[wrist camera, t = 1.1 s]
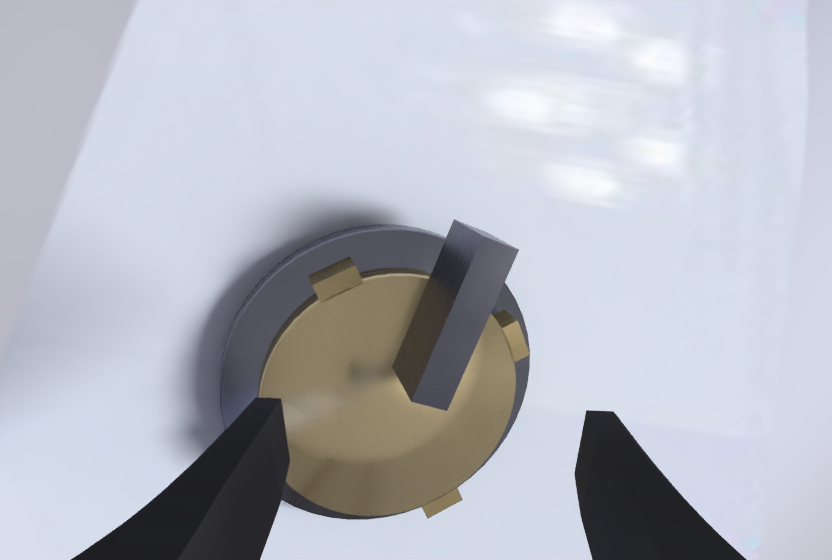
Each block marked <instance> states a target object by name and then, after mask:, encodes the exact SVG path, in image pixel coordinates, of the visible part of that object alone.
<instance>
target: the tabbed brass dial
mask: <svg viewBox="0 0 832 560" xmlns="http://www.w3.org/2000/svg"><path fill="white" fill-rule="evenodd" d="M518 251H519V250H518V249H516V248H515V247H513V246H511V245H509V244H507V243H505V242H504V241H502V240H500V239H498V238H496V237H494V236H492V235H491V234H489V233H487V232H484V231H482V230H479V229H477V228H474V227H472V226H469V225H467V224H464V223H462V222H459V221H457V220H454V221H453V223H452V226H451V228H450V230H449V233H448V235H447V237H446V240H445V242H444V245H443V247H442V249H441V252H440V254H439V256H438V259H437V261H436V264H435V266H434V268H433V271H432V273H430V272H426V271H423V270H418V269H410V268H380V269H372V270H367V271H363V272H358V269H357V267H356V265H355V264H354V262H353V261H352V259H351V258H350V256H349V257H347V258H345V259H343V260H340V261H338V262H336V263H334V264H332V265H330V266H328V267H325V268H323V269H321V270H319V271H317V272H315V273H312V274H310V275H309V278H310V281H311V284H312V286H313V288H314V290H315V292H316V293H315V294H313V295H312V296H311V297H309V298H308V299H306V300H305V301H304V302H303V303H302V304H301V305H300V306H299V307H298V308H297V309H296V310H295V311H293V313H292V314H291V315H290V316H289V317H288V319H287V320H286V321H285V322H284V323H283V325H282V326H281V327H280V329H279V331H278V332H277V334H276V335H275V337H274V338H273V340H272V342H271V344H270V346H269V349H268V351H267V353H266V355H265V358H264V362H263V365H262V368H261V372H260V378H259V385H258V397H259V398H281V401H282V407H283V414H284V421H285V428H286V435H287V442H288V449H289V456H290V464H289V468H288V473H287V477H286V482H287V483H288V484H289V485H290V486H291V487H292V488H293V489H294V490H295V491H297V492H298V493H299V494H301V495H302V496H303V497H305V498H306V499H308V500H310V501H312V502H314V503H315V504H317V505H320V506H322V507H325V508H327V509H330V510H333V511H337V512H341V513H345V514H351V515H360V516H381V515H389V514H396V513H400V512H405V511H409V510H412V509H415V508H418V507H421V506H422V508H423V510H424V512H425V514H426V516H427V518H430V517H432V516H433V515H435V514H437V513H439V512H441V511H443V510H444V509H446V508H448V507H450V506H452V505H454V504H456V503H457V502H459V501H461V500H462V497H461V495H460V493H459V491H458V489H457V487H458V486H459V485H461V484H462V483H463V482H465V481H466V480H467V479H468V478H469V477H470V476H471V475H472V474H473V473H475V472H476V471H477V470H478V469H479V468H480V466H481V465H482V464H483V463H484V462H485V461H486V459H487V458H488V457H489V456H490V454H491V453H492V451H493V450H494V448H495V447H496V446H497V444H498V442H499V440H500V438H501V436H502V435H503V433H504V431H505V428H506V426H507V423H508V421H509V418H510V415H511V411H512V407H513V404H514V397H515V390H516V372H515V364H514V363H515V362H517V361H518V360H520V359H522V358H524V357H526V356H528V355H530V354H529V351H528V348H527V345H526V342H525V339H524V336H523V334H522V331H521V328H520V325H519V322H518V320H517V319H516V318H514V317H513V316H512V315H511V314H509V313H508V312H507V311H506V310H502V311H500V312H498V313H496V314H494V315H492V314H491V311H492V309H493V307H494V305H495V302H496V300H497V298H498V296H499V293H500V291H501V289H502V287H503V285H504V282H505V280H506V278H507V276H508V273H509V271H510V269H511V267H512V264H513V262H514V260H515V258H516V255H517V253H518Z"/></svg>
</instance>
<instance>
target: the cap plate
mask: <svg viewBox="0 0 832 560" xmlns="http://www.w3.org/2000/svg"><path fill="white" fill-rule="evenodd" d="M445 240H446V237H444V236H442V235H439V234H437V233H433V232H430V231H427V230H423V229H420V228H414V227H408V226H402V225H372V226H363V227H356V228H352V229H348V230H344V231H340V232H336V233H333V234H331V235H328V236H326V237H323V238H320V239H318V240H316V241H314V242H312V243H310V244H308V245H306V246H304V247H303V248H301V249H299V250H297V251H296V252H294V253H293V254H291V255H290V256H289V257H287V258H286V259H284V260H283V261H282V262H280V263H279V264H278V265H277V266H276V267H275V268H274V269H272V270H271V271H270V272H269V273H268V274H267V275H266V276H265V277H264V278H263V279H262V280H261V281H260V283H259V284H258V285H257V286H256V287H255V289H254V290H253V291H252V292H251V293H250V295H249V296H248V298H247V299H246V301H245V303H244V304H243V306H242V307H241V309H240V311H239V312H238V314H237V316H236V319H235V321H234V323H233V325H232V328H231V330H230V332H229V336H228V339H227V343H226V346H225V350H224V355H223V362H222V370H221V379H220V405H221V410H222V416H223V422H224V426H225V429H227V428H228V427H229V426H230V424H231V423H232V422H233V421H234V420H235V419H236V418H237V417H238V416H239V415H240V414H241V412H242V411H243V410H244V409H245V408H246V407H247V406H248V405H249V404H250V403H251V402H252V401H253V400H254V399H255V398H256V397H258V385H259V378H260V372H261V368H262V365H263V362H264V358H265V355H266V353H267V351H268V349H269V346H270V344H271V342H272V340H273V338H274V337H275V335H276V334H277V332H278V331H279V329H280V327H281V326H282V325H283V323H284V322H285V321H286V320H287V319H288V317H289V316H290V315H291V314H292V313H293V311H295V310H296V309H297V308H298V307H299V306H300V305H301V304H302V303H303V302H304V301H305V300H306V299H308V298H309V297H311V296H312V295H313V294H315V293H316V292H315V290H314V288H313V286H312V284H311V281H310V278H309V275H310V274H312V273H315V272H317V271H319V270H321V269H323V268H325V267H328V266H330V265H332V264H334V263H336V262H338V261H340V260H343V259H345V258H347V257H349V256H350V258H351V259H352V261H353V262H354V264H355V265H356V267H357V269H358V272H363V271H367V270H372V269H380V268H410V269H418V270H423V271H426V272H430V273H432V271H433V268H434V266H435V264H436V261H437V259H438V256H439V254H440V252H441V249H442V247H443V245H444V242H445ZM502 310H506V311H507V312H508V313H509V314H511V315H512V316H513V317H514V318H516V319H517V320H518V322H519V325H520V328H521V331H522V334H523V336H524V339H525V342H526V345H527V348H528V351H529V354H530V350H529V342H528V334H527V330H526V326H525V323H524V319H523V316H522V313H521V311H520V309H519V306H518V304H517V302H516V300H515V298H514V296H513V295H512V293H511V291H510V290H509V288H508V287H507V285H506V284H505V283H504V285H503V287H502V289H501V291H500V293H499V296H498V298H497V300H496V302H495V305H494V307H493V309H492V311H491V314H492V315H494V314H496V313H498V312H500V311H502ZM529 357H530V355H528V356H526V357H524V358H522V359H520V360H518V361H517V362H515V363H514V364H515V372H516V390H515V397H514V404H513V407H512V411H511V415H510V418H509V421H508V423H507V426H506V428H505V431H504V433H503V435H502V436H501V438H500V440H499V442H498V444H497V446H496V447H495V448H494V450H493V451H492V453H491V454H490V456H489V457H488V458H487V459H486V461H485V462H484V463H483V464H482V465H481V466H480V468H481V467H482V466H483V465H485V463H486V462H487V461H488V460H489V459H490V458H491V456H492V455H493V454H494V453H495V452H496V451H497V449H498V448H499V446H500V445H501V444H502V442H503V441H504V439H505V438H506V436H507V435H508V433H509V431H510V429H511V427H512V425H513V424H514V422H515V420H516V417H517V415H518V412H519V410H520V408H521V405H522V402H523V399H524V395H525V391H526V387H527V382H528V375H529ZM480 468H479V469H480ZM479 469H478V470H479ZM478 470H477V471H478ZM477 471H476V472H477ZM476 472H475V473H476ZM475 473H473V474H472V475H471V476H470V477H469V478H471V477H472V476H473V475H474V474H475ZM469 478H468V479H469ZM468 479H467V480H468ZM467 480H466V481H467ZM463 483H464V482H463ZM463 483H462V484H463ZM459 486H460V485H459ZM459 486H458V487H459ZM281 500H283V501H285V502H287V503H289V504H291V505H293V506H294V507H297V508H300V509H302V510H305V511H308V512H310V513H314V514H318V515H322V516H326V517H331V518H340V519H374V518H382V517H388V516H393V515H397V514H401V513H405V512H408V511H405V512H400V513H396V514H389V515H381V516H360V515H351V514H345V513H341V512H337V511H333V510H330V509H327V508H325V507H322V506H320V505H317V504H315V503H314V502H312V501H310V500H308V499H306V498H305V497H303V496H302V495H301V494H299V493H298V492H297V491H295V490H294V489H293V488H292V487H291V486H290V485H289V484H288V483H287V482H285V486H284V490H283V494H282V498H281ZM421 507H422V506H421ZM418 508H420V507H418ZM415 509H417V508H415ZM412 510H414V509H412ZM409 511H411V510H409Z"/></svg>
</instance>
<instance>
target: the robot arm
mask: <svg viewBox="0 0 832 560" xmlns="http://www.w3.org/2000/svg"><path fill="white" fill-rule="evenodd" d="M289 464H290V456H289V449H288V442H287V435H286V428H285V421H284V414H283V407H282V401H281V398H259V397H256V398H255V399H254V400H253V401H252V402H251V403H250V404H249V405H248V406H247V407H246V408H245V409H244V410H243V411H242V412H241V414H240V415H239V416H238V417H237V418H236V419H235V420H234V421H233V422H232V423H231V424H230V426H229V427H228V428H227V429H226V430H225V431H224V432H223V433H222V434H221V435H220V436H219V437H218V438H217V439H216V440H215V441H214V442H213V443H212V444H211V445H210V446H209V447H208V448H207V449H206V451H205V452H204V453H203V454H202V455H201V456H200V457H199V458H198V459H197V460H196V461H195V462H194V463H193V464H192V465H191V466H189V467H188V468H187V469H186V470H185V471H184V472H183V473H182V474H181V475H180V476H179V477H178V478H176V479H175V480H174V481H173V482H172V483H171V484H170V485H169V486H168V487H167V488H166V489H165V490H163V491H162V492H161V493H160V494H159V495H158V496H156V497H155V498H154V499H153V500H152V501H151V502H149V503H148V504H147V505H146V506H145V507H143V508H142V509H141V510H140V511H138V512H137V513H136V514H135V515H133V516H132V517H131V518H130V519H128V520H127V521H126V522H124V523H123V524H122V525H120V526H119V527H118V528H116V529H115V530H113V531H112V532H111V533H109V534H108V535H106V536H105V537H103V538H102V539H101V540H99V541H98V542H96V543H95V544H93V545H92V546H91V547H89V548H88V549H86V550H85V551H83V552H82V553H80V554H79V555H77V556H76V557H74V558H73V559H71V560H260V558H261V555H262V552H263V550H264V547H265V544H266V541H267V539H268V536H269V533H270V530H271V528H272V525H273V522H274V519H275V516H276V514H277V511H278V508H279V505H280V502H281V498H282V494H283V490H284V486H285V482H286V477H287V473H288V468H289ZM575 480H576V487H577V494H578V501H579V507H580V513H581V518H582V522H583V526H584V529H585V533H586V537H587V540H588V544H589V548H590V552H591V555H592V559H593V560H746V559H745V558H744V557H743V556H742V555H741V554H740V553H738V552H737V551H736V550H735V549H734V548H733V547H732V546H731V545H730V544H729V543H728V542H727V541H726V540H724V539H723V538H722V537H721V536H720V535H719V534H718V533H717V532H716V531H715V530H714V529H713V528H712V527H711V526H710V525H709V524H708V523H707V522H706V521H705V520H704V519H703V518H702V517H701V516H700V515H699V514H698V513H697V512H696V510H695V509H694V508H693V507H692V506H691V505H690V504H689V503H688V502H687V501H686V500H685V499H684V498H683V496H682V495H681V494H680V493H679V492H678V491H677V490H676V489H675V487H674V486H673V485H672V484H671V483H670V482H669V480H668V479H667V478H666V477H665V476H664V475H663V473H662V472H661V471H660V470H659V469H658V468H657V466H656V465H655V464H654V463H653V461H652V460H651V459H650V458H649V457H648V455H647V454H646V453H645V451H644V450H643V449H642V448H641V446H640V445H639V444H638V443H637V441H636V440H635V439H634V437H633V436H632V435H631V434H630V432H629V431H628V430H627V428H626V427H625V426H624V424H623V423H622V422H621V420H620V419H619V418H618V416H617V415H616V414H615V413H614V412H611V411H586V416H585V421H584V426H583V431H582V437H581V442H580V447H579V453H578V458H577V463H576V468H575Z"/></svg>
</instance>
